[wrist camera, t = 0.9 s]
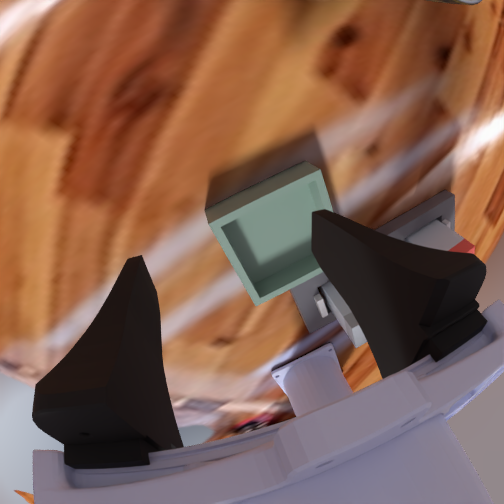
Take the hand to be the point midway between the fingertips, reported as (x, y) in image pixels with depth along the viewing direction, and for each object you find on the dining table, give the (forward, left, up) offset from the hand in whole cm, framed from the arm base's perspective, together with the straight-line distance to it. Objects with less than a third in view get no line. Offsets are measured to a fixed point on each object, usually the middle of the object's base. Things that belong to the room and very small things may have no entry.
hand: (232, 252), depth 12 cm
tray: (-6, -3, -10) cm, 12 cm away
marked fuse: (-15, -17, -10) cm, 25 cm away
